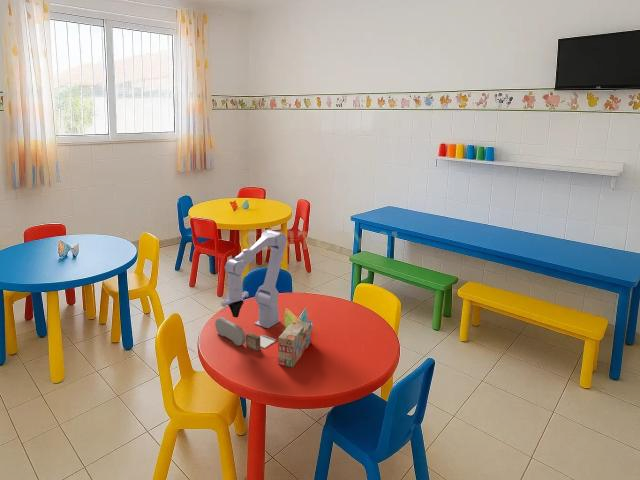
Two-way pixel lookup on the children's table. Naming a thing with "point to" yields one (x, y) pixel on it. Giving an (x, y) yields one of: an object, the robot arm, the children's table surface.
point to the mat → (266, 341)
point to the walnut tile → (253, 341)
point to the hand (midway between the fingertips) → (235, 316)
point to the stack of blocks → (293, 343)
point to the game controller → (230, 331)
